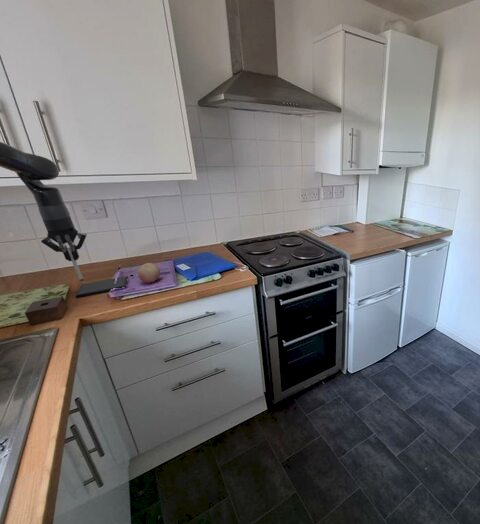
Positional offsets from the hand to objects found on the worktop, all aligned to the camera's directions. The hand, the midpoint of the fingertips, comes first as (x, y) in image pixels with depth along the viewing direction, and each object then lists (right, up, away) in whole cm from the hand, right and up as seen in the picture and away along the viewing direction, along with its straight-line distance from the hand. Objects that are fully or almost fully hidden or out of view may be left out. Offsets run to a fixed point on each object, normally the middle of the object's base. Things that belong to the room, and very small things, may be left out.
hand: (73, 259), depth 116 cm
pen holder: (+2, -20, -11) cm, 23 cm away
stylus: (0, -8, +4) cm, 9 cm away
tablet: (+5, -11, +8) cm, 15 cm away
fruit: (+21, -9, +14) cm, 27 cm away
